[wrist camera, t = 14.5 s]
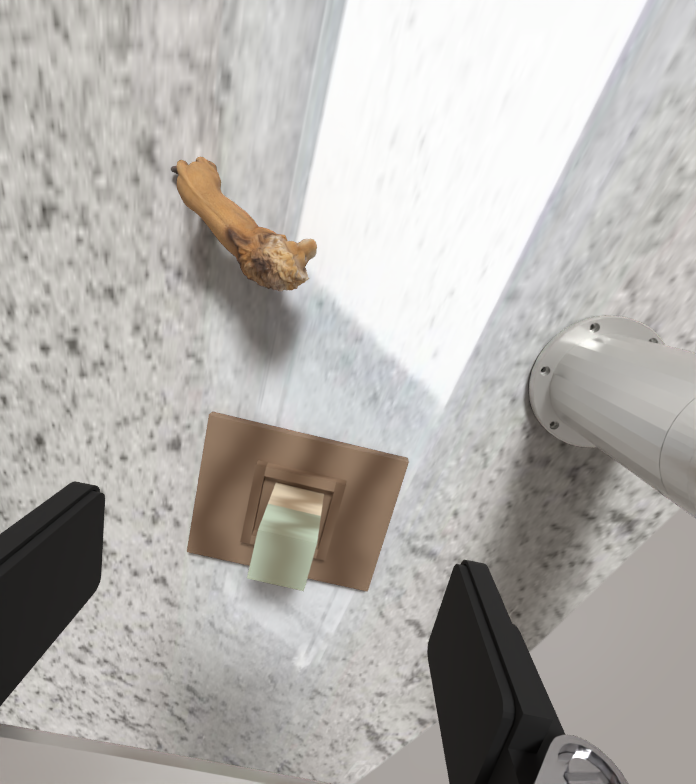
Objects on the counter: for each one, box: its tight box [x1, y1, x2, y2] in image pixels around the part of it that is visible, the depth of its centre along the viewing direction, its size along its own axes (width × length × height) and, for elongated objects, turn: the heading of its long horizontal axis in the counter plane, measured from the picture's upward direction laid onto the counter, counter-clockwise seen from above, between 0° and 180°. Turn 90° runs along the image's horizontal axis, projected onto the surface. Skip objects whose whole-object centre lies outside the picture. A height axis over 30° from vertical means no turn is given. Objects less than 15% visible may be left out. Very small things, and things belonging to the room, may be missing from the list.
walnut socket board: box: [187, 412, 409, 591], centre depth 43 cm, size 20×16×2 cm
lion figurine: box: [171, 157, 317, 292], centre depth 32 cm, size 15×5×9 cm, turn 53°
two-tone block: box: [247, 482, 324, 591], centre depth 39 cm, size 5×5×8 cm
